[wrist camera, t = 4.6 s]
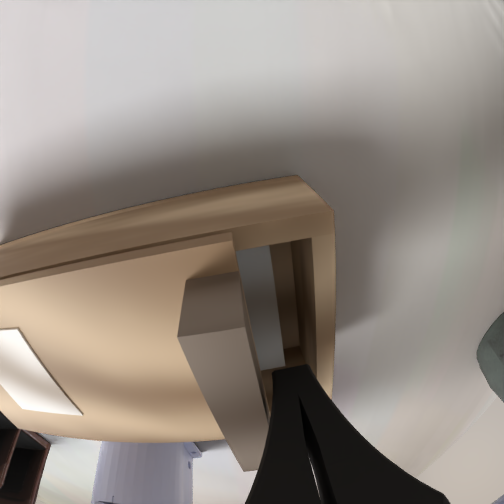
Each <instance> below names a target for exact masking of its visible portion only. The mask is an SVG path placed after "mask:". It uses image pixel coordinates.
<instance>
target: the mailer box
mask: <svg viewBox="0 0 504 504" xmlns="http://www.w3.org/2000/svg"><path fill="white" fill-rule="evenodd" d="M229 232H232V236H233V241H234V246H235V251H236V256H237V261H238V266H239V271H240V276H241V281H242V285H243V290H244V295H245V300H246V305H247V310H248V314H249V319H250V324H251V329H252V333H253V338H254V343H255V347H256V352H257V357H258V361H259V366H260V370H261V375H262V380H263V384H264V389H265V393H266V398H267V402H268V407H269V411H270V415H271V408H272V396H273V381H272V372H273V371H274V370H280V369H285V368H290V367H295V366H300V365H304V364H308V365H310V367H311V369H312V371H313V373H314V375H315V377H316V378H317V380H318V382H319V383H320V385H321V386H322V388H323V389H324V391H325V392H326V393H327V395H328V396H329V398H330V399H332V385H333V369H334V349H335V317H336V257H335V224H334V210H333V209H332V208H331V207H330V206H329V205H328V204H327V203H326V202H325V201H324V200H323V199H322V198H321V197H320V196H319V195H318V194H317V193H316V192H315V191H314V190H313V189H312V188H311V187H310V186H308V185H307V184H306V183H305V182H304V181H303V180H302V179H301V178H300V177H299V176H298V175H294V176H287V177H281V178H274V179H268V180H262V181H256V182H250V183H244V184H239V185H233V186H228V187H222V188H217V189H212V190H207V191H202V192H197V193H192V194H187V195H182V196H178V197H173V198H168V199H164V200H159V201H155V202H151V203H146V204H142V205H138V206H134V207H129V208H125V209H121V210H117V211H113V212H109V213H106V214H102V215H98V216H94V217H90V218H87V219H83V220H80V221H76V222H72V223H69V224H65V225H62V226H59V227H55V228H52V229H49V230H45V231H42V232H39V233H35V234H32V235H29V236H26V237H23V238H20V239H17V240H14V241H11V242H8V243H5V244H2V245H0V280H3V279H7V278H11V277H15V276H20V275H24V274H28V273H33V272H37V271H42V270H46V269H50V268H55V267H60V266H64V265H69V264H73V263H78V262H83V261H87V260H92V259H97V258H101V257H106V256H111V255H116V254H121V253H125V252H130V251H135V250H140V249H145V248H150V247H155V246H160V245H165V244H171V243H176V242H181V241H186V240H191V239H197V238H202V237H207V236H212V235H218V234H223V233H229Z"/></svg>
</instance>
